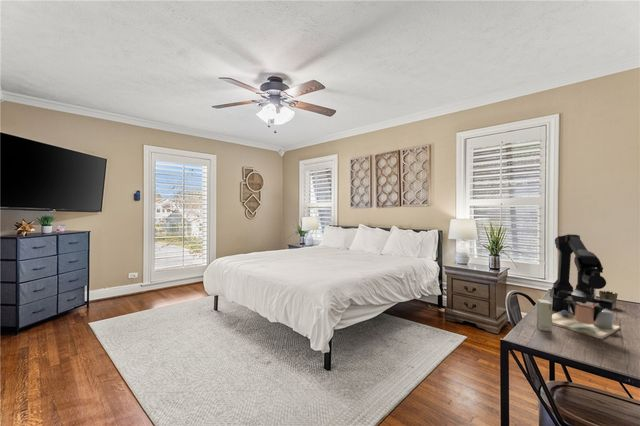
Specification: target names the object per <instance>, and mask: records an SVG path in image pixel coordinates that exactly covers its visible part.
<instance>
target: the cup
mask: <svg viewBox="0 0 640 426" xmlns="http://www.w3.org/2000/svg"><path fill="white" fill-rule="evenodd" d="M598 295H599V300H601V299H609V300H614V301H615V302H616V303H617V300H618V293H617V292H615V293H613V291H609V290H607V291H605V290H604V291H603V290H599V291H598Z"/></svg>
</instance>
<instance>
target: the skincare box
mask: <svg viewBox="0 0 640 426" xmlns="http://www.w3.org/2000/svg"><path fill="white" fill-rule="evenodd" d="M552 314H553V310H552V302H551V301H550V300H547V299H539V298H537V301H536V326H537V329H539V330H540V331H545V332H546V331H547V332H552V330H553V328H552V327H553V326H552V325H553V324H552Z"/></svg>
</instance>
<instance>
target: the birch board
mask: <svg viewBox="0 0 640 426" xmlns="http://www.w3.org/2000/svg"><path fill="white" fill-rule="evenodd" d="M568 313H569V315H568V316H563V315H562V314H561V311H557V312H555V313H552V325H553V326H556V327H560V328H564V329H566V330H570V331H573V332H577V333H580V334H584V335H587V336H589V337H594V338H597V339H600V340H604V339H605V338H606V337H608V336H609V335H612V334H614V333H615V332H617V331H619V330H620V329H621V326H619V325H615V324H613V329H603V328H599V327H596V326H594V325H593V324H585V323H581V322H578V321H576V320H575V316H574V315H573V313H570V312H568Z"/></svg>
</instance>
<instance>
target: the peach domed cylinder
mask: <svg viewBox="0 0 640 426" xmlns="http://www.w3.org/2000/svg"><path fill="white" fill-rule="evenodd" d="M594 312H595V308H594V306H592V305H588V304H583V303H578V302H577V303H576V304H575V320H576V321H578V322H581V323H585V324H595V321H594Z"/></svg>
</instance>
